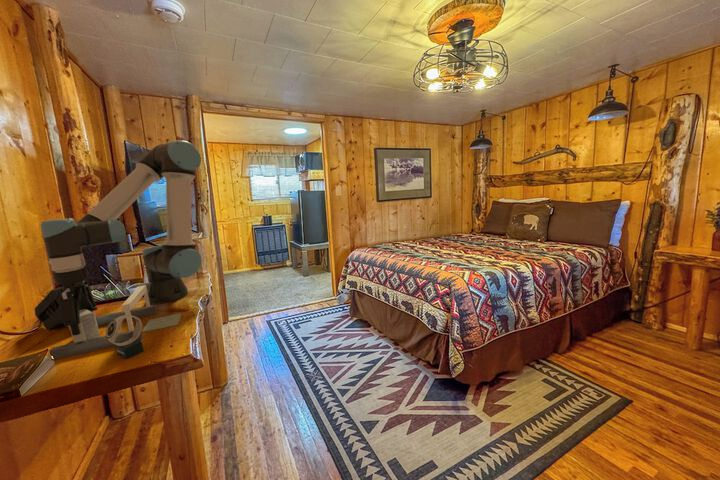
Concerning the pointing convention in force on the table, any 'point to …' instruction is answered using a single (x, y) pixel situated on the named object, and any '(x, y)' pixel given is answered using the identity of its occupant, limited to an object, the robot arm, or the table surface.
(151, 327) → the mat
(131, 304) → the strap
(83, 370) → the table surface
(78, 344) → the rails
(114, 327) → the watch
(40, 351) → the table surface
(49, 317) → the tool
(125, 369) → the table surface
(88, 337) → the medicine box
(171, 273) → the robot arm
